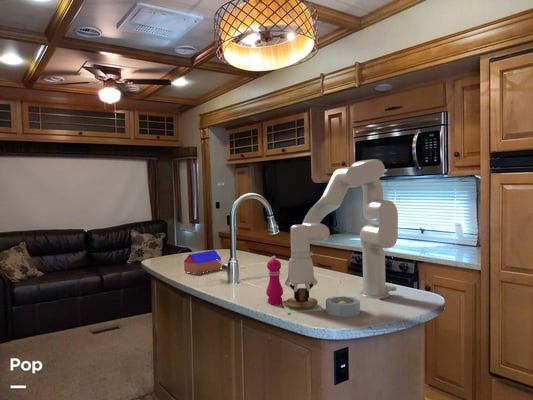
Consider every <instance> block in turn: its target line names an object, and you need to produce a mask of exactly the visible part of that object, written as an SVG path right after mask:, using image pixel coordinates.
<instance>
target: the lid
mask: <svg viewBox="0 0 533 400" xmlns="http://www.w3.org/2000/svg"><path fill="white" fill-rule="evenodd" d="M305 288H306V287H297V290H298V293H299V301H298V302H297V301H296V299H294V297H290V298H288V299H286V301H285V302H286V304H287V305H288V306H291V307H297V308H307V307H313V306H315V305H317V304H318V303H319V302H318V299H316V298H314V297H310V296H309V298H308V301H306V290H305Z"/></svg>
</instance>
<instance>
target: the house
mask: <svg viewBox="0 0 533 400" xmlns="http://www.w3.org/2000/svg"><path fill="white" fill-rule="evenodd" d="M216 259H218V260H219V261H220V262H222V257H221V256H220V255H219V254H218V252H217V251H216V250H215V249H214V250H208V251H202V252H201V251H200V252H198V253H191V254H188V256H187V257H186V258H185V259H184V260H183V268H184V271H185V272H190V273H194V274H198V275H200V274H199V273H203V272H207V271H211V272H213V271H212V270H216V269H220V268H221V269H222V263H221V264H220V263H219V262H218V261H217V260H216ZM221 269H220V270H221ZM184 271H183V272H184ZM216 271H217V270H216ZM207 273H208V272H207ZM194 274H193V275H194ZM203 274H204V273H203Z"/></svg>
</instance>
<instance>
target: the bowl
mask: <svg viewBox="0 0 533 400" xmlns="http://www.w3.org/2000/svg"><path fill="white" fill-rule="evenodd" d="M341 301H344V302H346V303H347V304H338V303H339V302H341ZM325 312H326V313H327V314H328V315H329V316H333V317H338V318H349V317H350V318H351V317H356V316H358V315H359V314H361V301H360V300H359V299H358V298H357V297H353V296H349V295H348V296H347V295H337V296H336V295H335V296H333V295H332V296H330V297H327V298H326V299H325Z"/></svg>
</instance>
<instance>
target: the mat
mask: <svg viewBox="0 0 533 400" xmlns="http://www.w3.org/2000/svg"><path fill="white" fill-rule="evenodd" d="M281 304H282V306H283V308H284V310H285V312H286V314H287V315H292V313H305V312H322V311H324V310H323V309H322V307H321V306H320V305H319V304H318V303H317V305H315V306H313V307H307V308H297V307H291V306H288V305H287V304H286V301H282V303H281Z"/></svg>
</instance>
